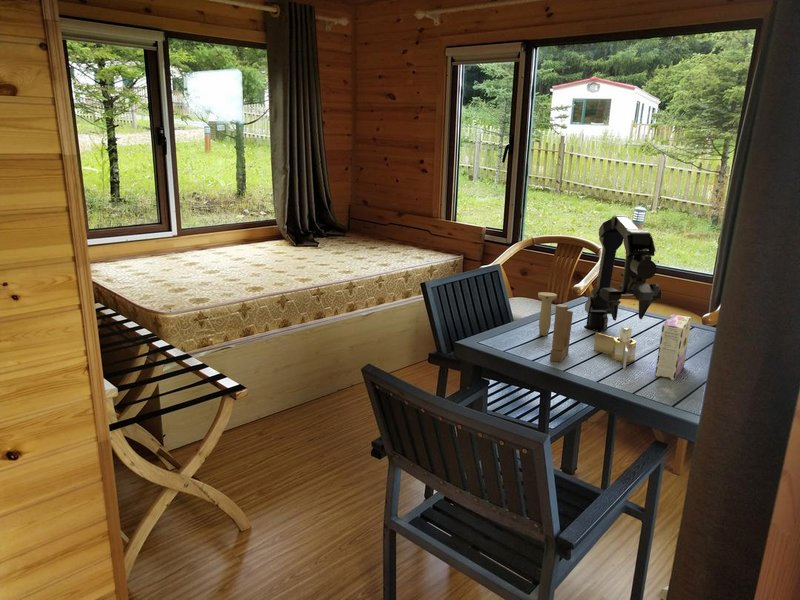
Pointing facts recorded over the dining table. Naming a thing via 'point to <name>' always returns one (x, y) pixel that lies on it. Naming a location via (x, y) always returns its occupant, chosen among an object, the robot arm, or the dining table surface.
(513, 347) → the dining table surface
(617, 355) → the hinge
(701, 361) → the dining table surface
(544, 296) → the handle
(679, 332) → the candy box
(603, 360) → the dining table surface
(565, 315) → the wooden block
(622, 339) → the pin
